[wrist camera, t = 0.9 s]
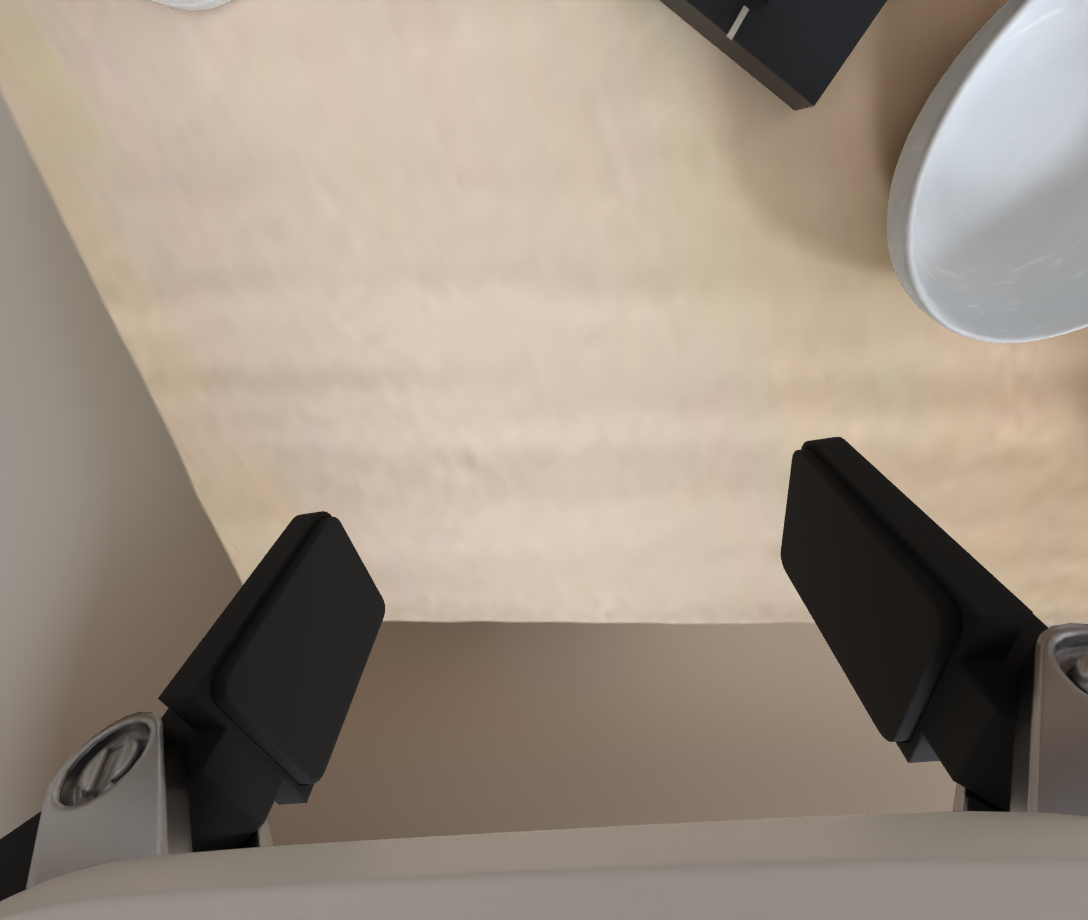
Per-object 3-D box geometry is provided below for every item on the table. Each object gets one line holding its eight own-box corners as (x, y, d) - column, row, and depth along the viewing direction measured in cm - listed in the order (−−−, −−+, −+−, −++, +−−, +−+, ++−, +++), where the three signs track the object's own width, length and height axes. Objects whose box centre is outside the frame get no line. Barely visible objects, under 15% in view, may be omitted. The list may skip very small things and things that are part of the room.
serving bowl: (809, 322, 36) (858, 351, 30) (912, -59, 25) (1022, -127, 19) (1078, 311, 36) (1181, 339, 30) (1310, -85, 24) (1548, -164, 19)
